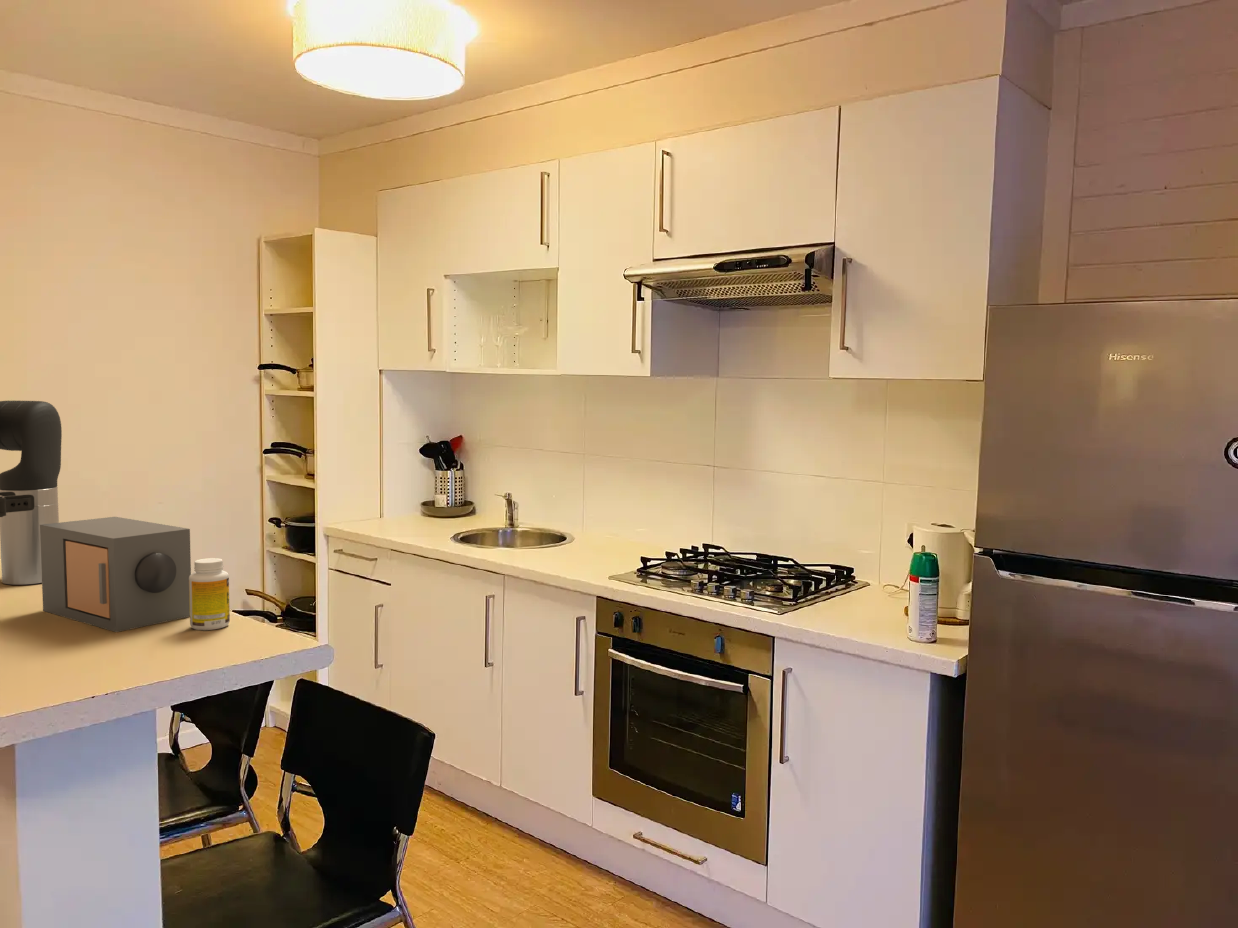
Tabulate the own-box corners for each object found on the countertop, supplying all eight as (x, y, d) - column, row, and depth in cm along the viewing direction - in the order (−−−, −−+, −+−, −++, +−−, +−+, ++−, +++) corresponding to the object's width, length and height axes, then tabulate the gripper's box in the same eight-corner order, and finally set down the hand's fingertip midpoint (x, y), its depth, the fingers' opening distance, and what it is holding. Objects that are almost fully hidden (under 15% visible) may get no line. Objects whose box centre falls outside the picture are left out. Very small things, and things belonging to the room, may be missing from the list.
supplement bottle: (234, 627, 141) (233, 561, 140) (195, 633, 137) (194, 565, 136) (223, 620, 145) (222, 555, 144) (185, 625, 141) (184, 559, 141)
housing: (43, 610, 149) (39, 524, 148) (117, 597, 159) (115, 516, 158) (119, 633, 137) (116, 539, 135) (195, 617, 147) (193, 529, 145)
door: (63, 607, 144) (61, 541, 143) (74, 605, 145) (72, 540, 145) (105, 619, 137) (103, 549, 137) (116, 616, 139) (113, 548, 138)
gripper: (-102, 487, 113) (47, 477, 127) (-146, 479, 121) (-1, 471, 135) (-99, 548, 113) (49, 531, 127) (-143, 536, 121) (1, 522, 135)
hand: (22, 500), depth 131 cm, fingers open, 5 cm apart
